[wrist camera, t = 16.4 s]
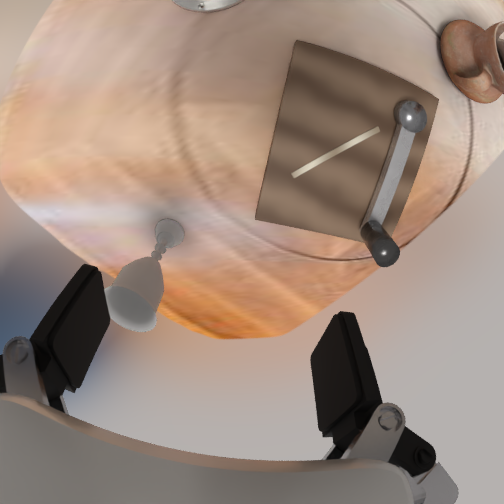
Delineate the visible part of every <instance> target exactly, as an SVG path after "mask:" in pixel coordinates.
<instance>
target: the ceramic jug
mask: <svg viewBox="0 0 504 504" xmlns="http://www.w3.org/2000/svg"><path fill="white" fill-rule="evenodd" d="M503 32H504V22H499V23H496V24H494V25H492V26H491V27H489V28H488V29H487V30H486V31H484V30H483V29H482V28H481V27H479V26H478V25H476V24H474V23H472V22H469V21H466V20H455V21H452V22H450V23H449V24H448V25H447V26H446V27H445V28H444V30H443V32H442V36H441V42H440V47H441V54H442V59H443V62H444V65H445V68H446V70H447V72H448V75H449V76H450V78H451V80H452V82H453V83H454V84H455V85H456V86H457V88H458V89H459V90H460V91H461V92H462V93H463V94H464V95H466V96H467V97H468V98H470V99H472V100H474V101H476V102H479V103H491V102H493V101H495V100H497V99H498V98H499V97H500V96H501V95H502V94H504V40H503V39H499V36H500V35H501V34H502V33H503Z"/></svg>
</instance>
